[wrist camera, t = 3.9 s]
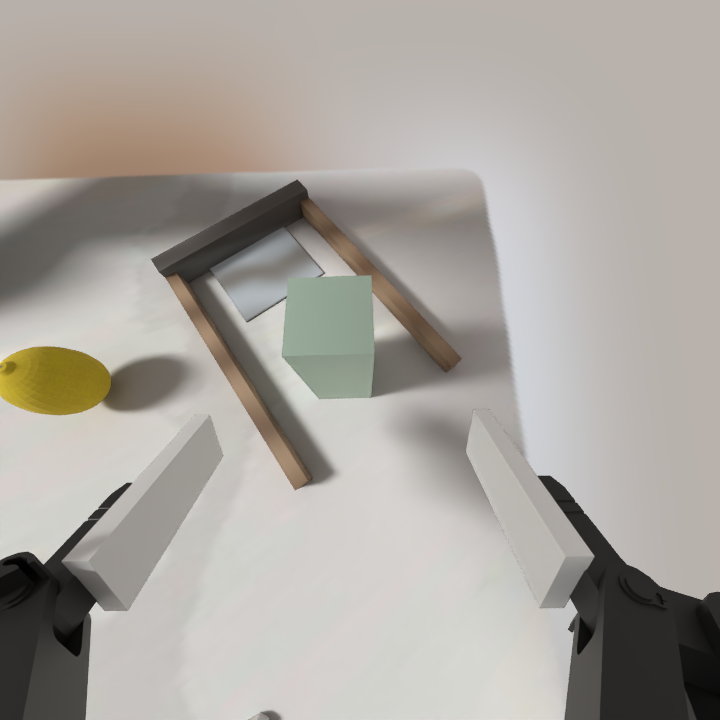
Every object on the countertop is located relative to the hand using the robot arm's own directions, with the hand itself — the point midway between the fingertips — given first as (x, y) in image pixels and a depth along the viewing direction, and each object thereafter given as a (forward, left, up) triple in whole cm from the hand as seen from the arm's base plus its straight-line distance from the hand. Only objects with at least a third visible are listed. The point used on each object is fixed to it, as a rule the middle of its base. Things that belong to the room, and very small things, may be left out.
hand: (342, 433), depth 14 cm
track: (-13, +3, -11) cm, 18 cm away
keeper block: (-6, +3, -11) cm, 13 cm away
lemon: (-19, -17, -12) cm, 28 cm away
